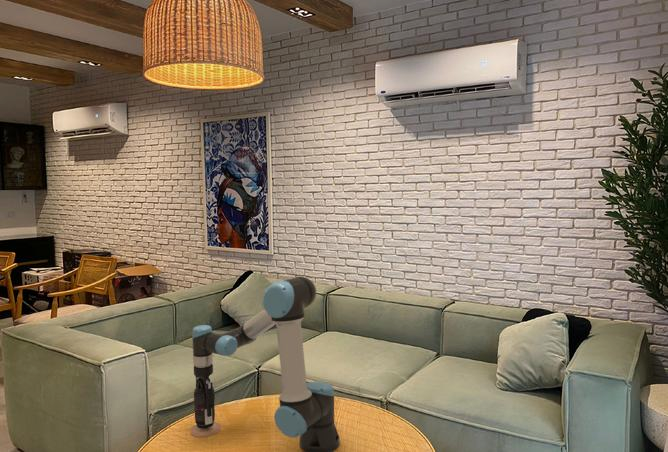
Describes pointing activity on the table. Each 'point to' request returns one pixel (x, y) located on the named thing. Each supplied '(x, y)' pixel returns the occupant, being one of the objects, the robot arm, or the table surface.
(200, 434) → the plate
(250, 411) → the table surface
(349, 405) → the table surface
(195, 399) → the camera lens
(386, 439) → the table surface
